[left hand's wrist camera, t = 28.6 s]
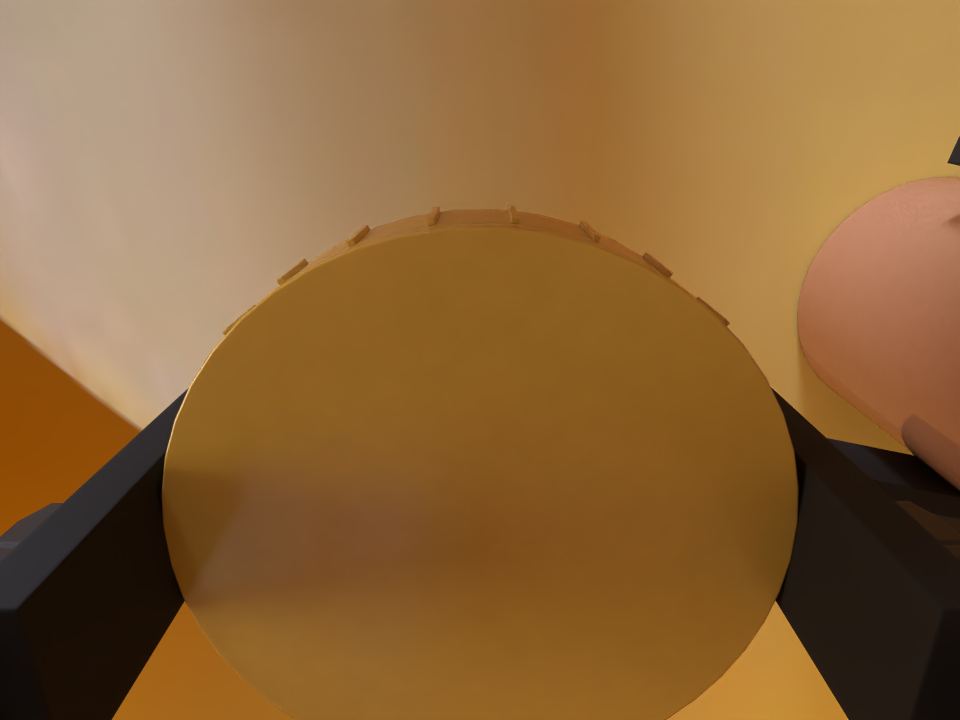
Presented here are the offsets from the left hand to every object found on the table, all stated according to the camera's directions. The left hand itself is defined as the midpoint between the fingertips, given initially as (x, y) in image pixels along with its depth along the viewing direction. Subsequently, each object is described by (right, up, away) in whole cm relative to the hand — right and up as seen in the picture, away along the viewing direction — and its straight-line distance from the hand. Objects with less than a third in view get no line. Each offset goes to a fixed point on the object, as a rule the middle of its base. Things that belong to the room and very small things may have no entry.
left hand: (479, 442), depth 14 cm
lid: (0, -1, -3) cm, 3 cm away
